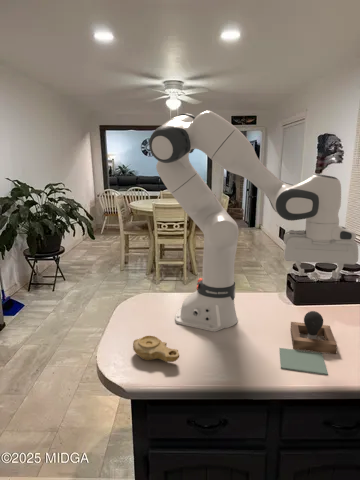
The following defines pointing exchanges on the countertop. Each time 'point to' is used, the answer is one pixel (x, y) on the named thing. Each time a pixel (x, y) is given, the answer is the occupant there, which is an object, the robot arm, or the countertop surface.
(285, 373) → the countertop surface
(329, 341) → the socket block
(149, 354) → the oil lamp
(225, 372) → the countertop surface
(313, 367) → the rubber mat
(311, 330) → the light bulb
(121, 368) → the countertop surface
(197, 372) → the countertop surface
